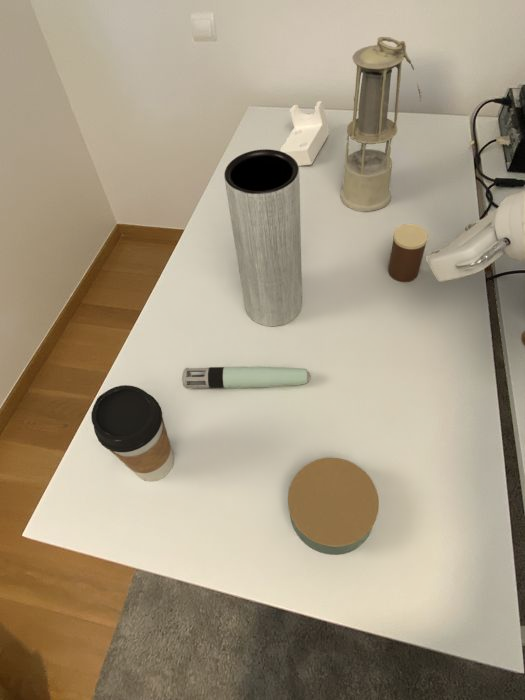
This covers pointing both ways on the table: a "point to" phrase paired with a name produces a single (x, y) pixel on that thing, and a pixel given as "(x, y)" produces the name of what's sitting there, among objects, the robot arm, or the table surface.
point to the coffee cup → (134, 431)
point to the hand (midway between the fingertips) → (450, 244)
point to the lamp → (372, 126)
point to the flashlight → (245, 377)
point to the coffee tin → (332, 505)
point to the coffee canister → (407, 252)
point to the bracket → (306, 134)
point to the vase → (267, 233)
